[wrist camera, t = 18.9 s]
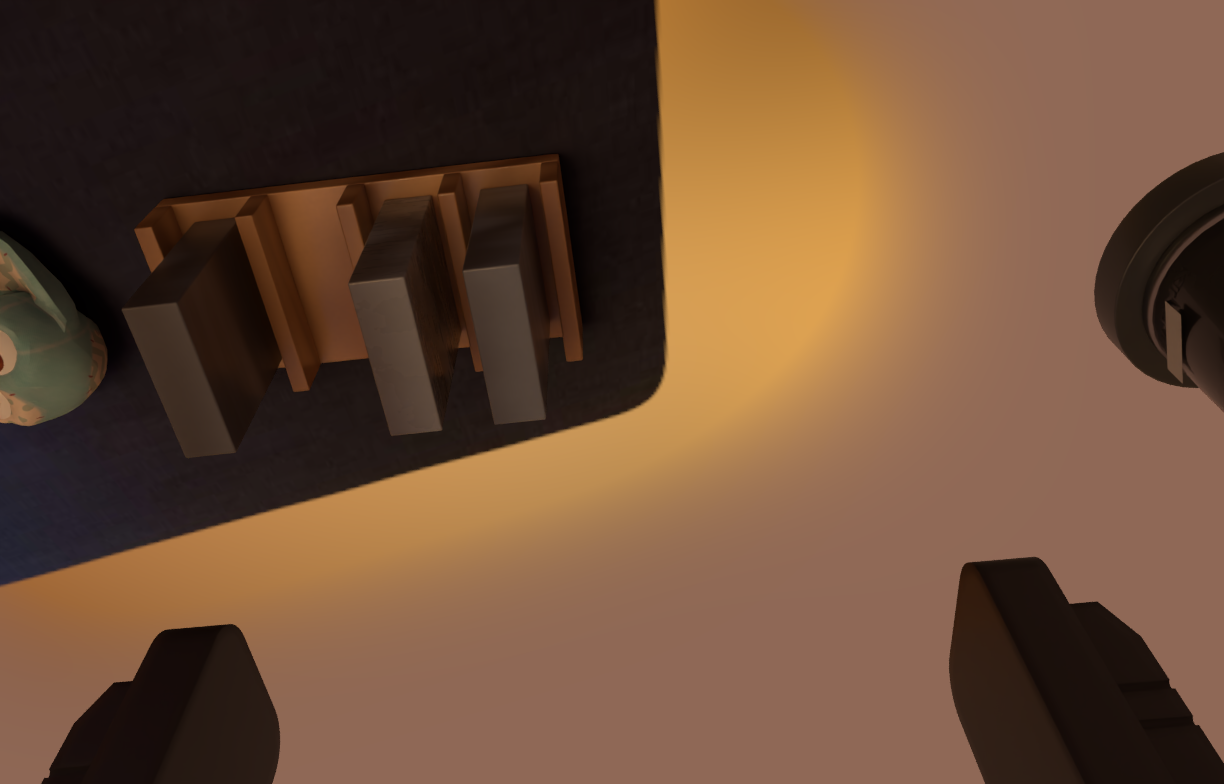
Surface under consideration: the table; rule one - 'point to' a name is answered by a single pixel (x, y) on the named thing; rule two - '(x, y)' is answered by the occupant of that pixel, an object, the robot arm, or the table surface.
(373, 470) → the table surface
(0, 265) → the stuffed animal
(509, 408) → the brown wooden rack
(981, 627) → the robot arm
